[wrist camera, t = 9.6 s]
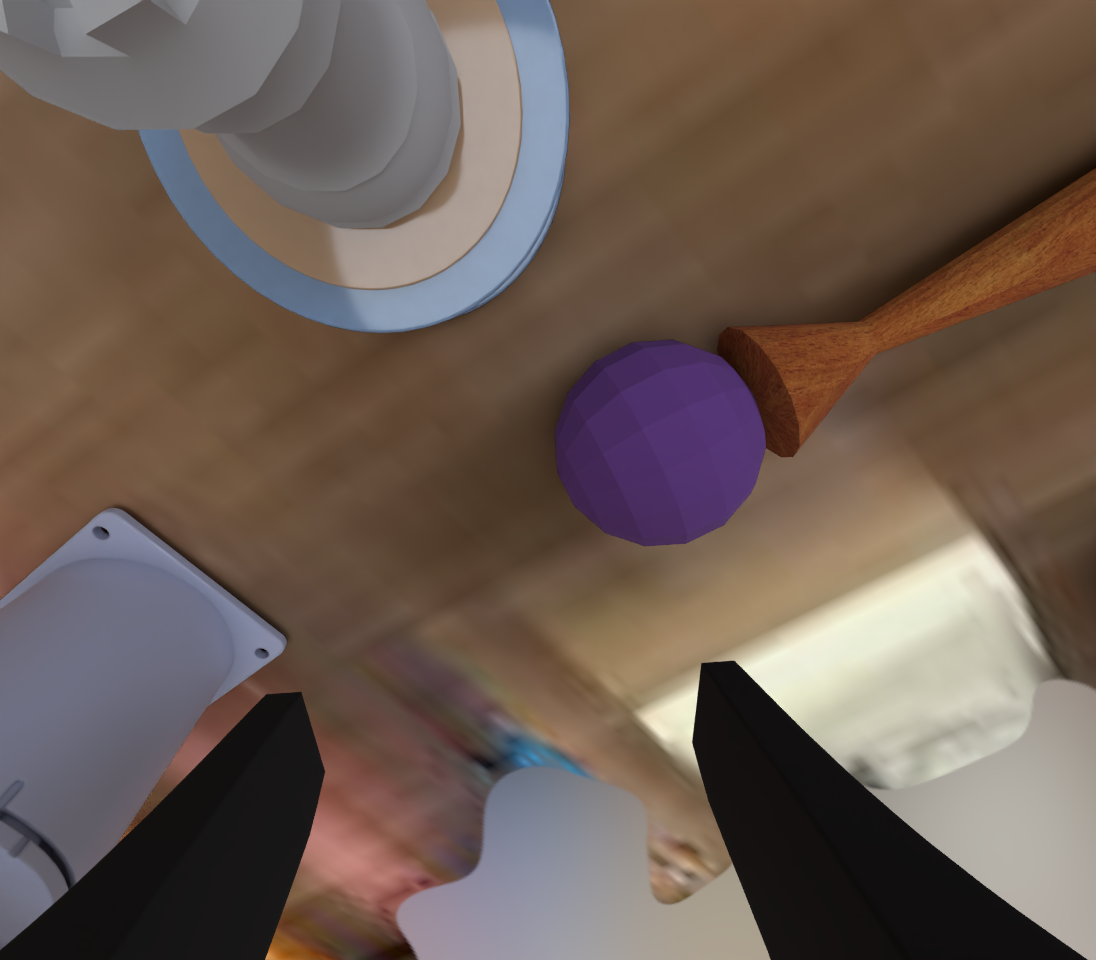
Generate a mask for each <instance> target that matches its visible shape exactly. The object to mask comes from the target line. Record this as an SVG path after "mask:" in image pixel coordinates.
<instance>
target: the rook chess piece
mask: <svg viewBox="0 0 1096 960" xmlns="http://www.w3.org/2000/svg"><path fill="white" fill-rule="evenodd" d="M0 70H1V71H2V72H3V73H5V74H6V75H7V76H8V77H10V78H11V79H12V80H13V81H14V82H16V83H17V84H18V85H19V86H21V87H22V88H23V89H24V90H25V91H27V92H28V93H29V94H30V95H31V96H33V97H36V98H38V99H41V100H43V101H46V102H48V103H51V104H53V105H56V106H58V107H61V108H63V109H66V110H68V111H70V112H73V113H75V114H78V115H80V116H83V117H85V118H88V119H90V120H93V121H95V122H98V123H100V124H103V125H105V126H108V127H110V128H113V129H115V130H160V129H196V130H198V131H201V132H203V133H206V134H209V133H215V134H216V136H217V137H218V139H219V141H220V142H221V144H222V146H223V147H224V149H225V151H226V152H227V154H228V156H229V157H230V159H231V161H232V162H233V163H234V164H235V165H236V166H237V167H238V168H239V169H240V170H241V171H242V172H243V173H244V174H245V175H247V176H248V177H249V178H250V179H251V180H252V181H253V182H254V183H256V184H257V185H258V186H259V187H260V188H261V189H262V190H264V191H265V192H266V193H267V194H268V195H269V196H270V197H271V198H273V199H274V200H275V201H276V202H277V203H278V204H280V205H282V206H285V207H287V208H290V209H292V210H295V211H297V212H300V213H302V214H305V215H307V216H310V217H312V218H315V219H317V220H320V221H322V222H325V223H327V224H330V225H332V226H335V227H337V228H378V227H384V226H386V225H388V224H390V223H392V222H394V221H396V220H398V219H400V218H402V217H404V216H406V215H408V214H410V213H412V212H414V211H416V210H418V209H420V208H421V206H422V205H423V204H424V203H425V201H426V200H427V199H428V197H429V196H430V195H431V194H432V192H433V191H434V190H435V188H436V187H437V186H438V185H439V183H440V182H441V181H442V180H443V178H444V177H445V176H446V174H447V173H448V169H449V166H450V162H451V159H452V155H453V151H454V148H455V144H456V140H457V137H458V133H459V130H460V126H461V121H460V107H459V94H458V80H457V69H456V66H455V64H454V62H453V59H452V57H451V54H450V52H449V49H448V47H447V45H446V42H445V40H444V37H443V35H442V33H441V30H440V28H439V25H438V23H437V20H436V18H435V16H434V14H433V13H432V11H431V10H430V9H429V8H428V5H427V3H426V0H0Z"/></svg>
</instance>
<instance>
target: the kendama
mask: <svg viewBox="0 0 1096 960" xmlns="http://www.w3.org/2000/svg"><path fill="white" fill-rule="evenodd" d="M1095 271H1096V168H1095V169H1093V170H1092V171H1090V172H1089V173H1087V174H1085V175H1084V176H1082V177H1081V178H1079V179H1078V180H1076V181H1075V182H1073V183H1071V184H1070V185H1068V186H1067V187H1065V188H1064V189H1062V190H1061V191H1059V192H1058V193H1056V194H1054V195H1053V196H1051V197H1050V198H1048V199H1047V200H1045V201H1044V202H1042V203H1040V204H1039V205H1037V206H1036V207H1034V208H1033V209H1031V210H1030V211H1028V212H1027V213H1025V214H1023V215H1022V216H1020V217H1019V218H1017V219H1016V220H1014V221H1013V222H1011V223H1010V224H1008V225H1006V226H1005V227H1003V228H1002V229H1000V230H999V231H997V232H996V233H994V234H992V235H991V236H989V237H988V238H986V239H985V240H983V241H982V242H980V243H979V244H977V245H975V246H974V247H972V248H971V249H969V250H968V251H966V252H965V253H963V254H961V255H960V256H958V257H957V258H955V259H954V260H952V261H951V262H949V263H948V264H946V265H944V266H943V267H941V268H940V269H938V270H937V271H935V272H934V273H932V274H931V275H929V276H927V277H926V278H924V279H923V280H921V281H920V282H918V283H917V284H915V285H913V286H912V287H910V288H909V289H907V290H906V291H904V292H903V293H901V294H900V295H898V296H896V297H895V298H893V299H892V300H890V301H889V302H887V303H886V304H884V305H882V306H881V307H879V308H878V309H876V310H875V311H873V312H872V313H870V314H869V315H867V316H865V317H864V318H862V319H861V320H859V321H858V322H840V323H817V324H794V325H770V326H747V327H728V328H726V329H725V330H724V331H723V332H722V333H721V334H720V335H719V341H718V348H717V351H718V355H715V354H713V353H710V352H707V351H704V350H701V349H698V348H696V347H693V346H690V345H687V344H684V343H681V342H678V341H675V340H660V341H647V342H634V343H630V344H628V345H626V346H624V347H622V348H620V349H618V350H616V351H615V352H613V353H611V354H609V355H607V356H605V357H603V358H601V359H599V360H597V361H595V362H594V363H593V364H592V365H591V366H590V368H589V369H588V370H587V371H586V372H585V374H584V375H583V376H582V377H581V378H580V379H579V381H578V382H577V383H576V384H575V385H574V386H573V388H572V389H571V390H570V391H569V392H568V393H567V396H566V399H565V402H564V405H563V408H562V411H561V414H560V418H559V421H558V424H557V427H556V430H555V445H556V459H557V472H558V474H559V477H560V479H561V481H562V483H563V485H564V487H565V489H566V491H567V493H568V495H569V497H570V499H571V501H572V502H573V504H574V506H575V507H576V508H577V509H578V510H579V511H580V512H582V513H583V514H584V515H585V516H586V517H587V518H589V519H590V520H591V521H592V522H593V523H594V524H596V525H597V526H598V527H599V528H600V529H601V530H602V531H604V532H605V533H607V534H610V535H613V536H616V537H619V538H622V539H625V540H628V541H631V542H634V543H637V544H639V545H642V546H655V545H671V544H686V543H688V542H690V541H692V540H694V539H696V538H698V537H700V536H702V535H704V534H707V533H709V532H711V531H713V530H715V529H717V528H719V527H721V526H723V525H724V524H725V523H726V522H727V521H728V519H729V518H730V517H731V516H732V515H733V514H734V512H735V511H736V510H737V509H738V508H739V507H740V505H741V504H742V503H743V502H744V501H745V500H746V498H747V497H748V496H749V495H750V494H751V492H752V490H753V488H754V486H755V484H756V480H757V477H758V473H759V470H760V466H761V463H762V459H763V455H764V452H765V448H767V449H768V450H770V451H772V452H773V453H775V454H777V455H778V456H780V457H793V456H794V455H795V454H796V452H797V451H798V450H799V449H800V447H801V446H802V445H803V444H804V442H805V441H806V440H807V439H808V437H809V436H810V435H811V434H812V432H813V431H814V430H815V429H816V427H817V426H818V425H819V424H820V422H821V421H822V420H823V419H824V417H825V416H826V415H827V414H828V412H829V411H830V410H831V409H832V407H833V406H834V405H835V404H836V402H837V401H838V400H839V399H840V397H841V396H842V395H843V394H844V392H845V391H846V390H847V389H848V387H849V386H850V385H851V384H852V382H853V381H854V380H855V379H856V378H857V376H858V375H859V374H860V373H861V371H862V370H863V369H864V368H865V366H866V365H867V364H868V363H869V361H870V360H871V359H872V358H873V356H874V355H875V354H878V353H881V352H883V351H886V350H889V349H891V348H894V347H897V346H899V345H902V344H904V343H907V342H910V341H912V340H915V339H918V338H920V337H923V336H926V335H928V334H931V333H934V332H936V331H939V330H942V329H944V328H947V327H950V326H952V325H955V324H957V323H960V322H963V321H965V320H968V319H971V318H973V317H976V316H979V315H981V314H984V313H987V312H989V311H992V310H995V309H997V308H1000V307H1003V306H1005V305H1008V304H1010V303H1013V302H1016V301H1018V300H1021V299H1024V298H1026V297H1029V296H1032V295H1034V294H1037V293H1040V292H1042V291H1045V290H1048V289H1050V288H1053V287H1056V286H1058V285H1061V284H1063V283H1066V282H1069V281H1071V280H1074V279H1077V278H1079V277H1082V276H1085V275H1087V274H1090V273H1093V272H1095Z"/></svg>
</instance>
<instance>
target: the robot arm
mask: <svg viewBox="0 0 1096 960" xmlns="http://www.w3.org/2000/svg"><path fill="white" fill-rule="evenodd" d="M101 527H103V528H105V529H106V530H107V531H108V532H109V534H107V533H105V532H104V531H103V530H102V529H101ZM286 645H287V640H286V638H285V637H284V636H283V635H282V634H281V633H280V632H279V631H277V630H276V629H275V628H274V627H272V626H271V625H270V624H268V623H267V622H266V621H265V620H263V619H262V618H261V617H259V616H258V615H257V614H256V613H254V612H253V611H252V610H250V609H249V608H248V607H247V606H245V605H244V604H243V603H241V602H240V601H239V600H238V599H236V598H235V597H234V596H232V595H231V594H230V593H229V592H227V591H226V590H225V589H224V588H222V587H221V586H220V585H218V584H217V583H216V582H215V581H213V580H212V579H211V578H209V577H208V576H207V575H206V574H204V573H203V572H202V571H200V570H199V569H198V568H197V567H195V566H194V565H193V564H191V563H190V562H189V561H188V560H186V559H185V558H184V557H183V556H181V555H180V554H179V553H177V552H176V551H175V550H174V549H172V548H171V547H170V546H168V545H167V544H166V543H165V542H163V541H162V540H161V539H159V538H158V537H157V536H156V535H154V534H153V533H152V532H150V531H149V530H148V529H147V528H145V527H144V526H143V525H142V524H140V523H139V522H138V521H136V520H135V519H134V518H133V517H131V516H130V515H129V514H127V513H126V512H124V511H123V510H121V509H117V508H108V509H106V510H104V511H103V512H101V513H99V514H98V515H97V516H96V517H94V518H93V519H92V520H91V521H90V522H89V523H88V524H87V525H85V526H84V527H83V528H82V529H81V530H80V531H79V532H77V533H76V534H75V535H74V536H73V537H72V538H71V539H69V540H68V541H67V542H66V543H65V544H64V545H63V546H61V547H60V548H59V549H58V550H57V551H56V552H55V553H53V554H52V555H51V556H50V557H49V558H48V559H47V560H45V561H44V562H43V563H42V564H41V565H40V566H39V567H37V568H36V569H35V570H34V571H33V572H32V573H31V574H30V575H28V576H27V577H26V578H25V579H24V580H23V581H22V582H20V583H19V584H18V585H17V586H16V587H15V588H14V589H12V590H11V591H10V592H9V593H8V594H7V595H6V596H4V597H3V598H2V599H1V600H0V960H265V958H266V956H267V953H268V950H269V947H270V944H271V942H272V939H273V936H274V933H275V931H276V928H277V925H278V922H279V920H280V917H281V914H282V911H283V909H284V906H285V903H286V900H287V898H288V895H289V892H290V889H291V887H292V884H293V881H294V878H295V875H296V873H297V870H298V867H299V864H300V861H301V858H302V856H303V853H304V850H305V847H306V844H307V841H308V838H309V836H310V832H311V828H312V824H313V820H314V816H315V812H316V808H317V804H318V800H319V795H320V791H321V787H322V782H323V778H324V774H325V770H324V766H323V763H322V760H321V756H320V753H319V750H318V746H317V743H316V740H315V736H314V733H313V730H312V726H311V723H310V720H309V716H308V713H307V709H306V706H305V703H304V699H303V696H302V693H301V692H294V693H280V694H266V695H265V696H264V697H263V698H262V699H261V700H260V701H259V702H258V703H257V704H256V705H255V706H254V707H253V708H252V709H251V710H250V711H249V712H248V713H247V715H246V716H245V717H244V718H243V719H242V720H241V721H240V722H239V723H238V724H237V725H236V726H235V727H234V728H233V729H232V730H231V731H230V732H229V733H228V734H227V735H226V736H225V737H224V738H223V739H222V740H221V741H220V742H219V743H218V744H217V746H216V747H215V748H214V749H213V750H212V751H211V752H210V753H209V754H208V755H207V756H206V757H205V758H204V759H203V760H202V761H201V762H200V763H199V764H198V765H197V766H196V767H195V768H194V769H193V770H192V771H191V772H190V773H189V774H188V775H187V776H186V777H185V778H184V779H183V780H182V781H181V782H180V783H179V784H178V785H177V786H176V787H175V788H174V789H173V790H172V791H171V792H170V793H169V794H168V795H167V796H166V797H165V798H164V799H163V800H162V801H161V802H160V803H159V804H158V806H157V807H156V808H155V809H154V810H153V811H152V812H151V813H150V814H149V815H148V816H147V817H146V818H144V819H143V820H142V821H141V822H140V823H139V824H138V825H137V826H136V827H135V828H134V829H133V830H132V831H131V832H130V833H129V834H128V835H127V836H126V837H124V838H123V839H122V840H121V841H120V842H119V840H120V839H121V837H122V836H123V834H124V833H125V831H126V830H127V828H128V826H129V825H130V823H131V822H132V820H133V819H134V817H135V816H136V814H137V813H138V811H139V810H140V808H141V807H142V805H143V804H144V802H145V801H146V799H147V798H148V796H149V794H150V793H151V791H152V790H153V788H154V787H155V785H156V784H157V782H158V781H159V779H160V778H161V776H162V775H163V773H164V772H165V770H166V769H167V767H168V766H169V764H170V762H171V761H172V759H173V758H174V756H175V755H176V753H177V752H178V750H179V749H180V747H181V746H182V744H183V743H184V741H185V740H186V738H187V737H188V735H189V734H190V732H191V731H192V729H193V727H194V726H195V724H196V723H197V721H198V720H199V718H200V717H201V715H202V714H203V712H204V711H205V709H206V708H207V707H208V706H209V705H210V704H212V703H213V702H215V701H216V700H217V699H219V698H220V697H222V696H223V695H224V694H226V693H227V692H229V691H230V690H231V689H233V688H234V687H235V686H237V685H238V684H240V683H241V682H242V681H244V680H245V679H247V678H248V677H249V676H251V675H252V674H254V673H255V672H256V671H258V670H259V669H261V668H262V667H263V666H265V665H266V664H267V663H269V662H270V661H272V660H273V659H274V658H276V657H277V656H279V655H280V654H281V653H282V652H283V651H284V649H285V647H286ZM260 648H261V649H265V650H267V652H264V651H262V650H261V649H260ZM692 743H693V747H694V751H695V754H696V758H697V762H698V766H699V769H700V773H701V776H702V780H703V783H704V787H705V790H706V794H707V797H708V801H709V803H710V806H711V809H712V811H713V814H714V817H715V819H716V822H717V824H718V827H719V829H720V832H721V834H722V837H723V840H724V842H725V845H726V847H727V850H728V852H729V855H730V857H731V860H732V862H733V865H734V867H735V870H736V872H737V875H738V877H739V880H740V882H741V885H742V887H743V890H744V893H745V895H746V898H747V900H748V903H749V905H750V908H751V910H752V913H753V915H754V918H755V920H756V923H757V925H758V928H759V930H760V933H761V935H762V938H763V940H764V943H765V945H766V948H767V950H768V953H769V956H770V959H771V960H1087V959H1086V958H1084V957H1083V956H1082V955H1080V954H1078V953H1077V952H1076V951H1074V950H1073V949H1072V948H1070V947H1069V946H1067V945H1066V944H1064V943H1063V942H1061V941H1060V940H1059V939H1057V938H1056V937H1055V936H1053V935H1052V934H1050V933H1049V932H1047V931H1046V930H1045V929H1043V928H1042V927H1040V926H1039V925H1037V924H1036V923H1035V922H1033V921H1032V920H1030V919H1029V918H1028V917H1026V916H1025V915H1023V914H1022V913H1021V912H1019V911H1018V910H1016V909H1015V908H1014V907H1012V906H1011V905H1009V904H1008V903H1007V902H1006V901H1004V900H1003V899H1002V898H1000V897H999V896H998V895H996V894H995V893H994V892H992V891H991V890H990V889H988V888H986V886H984V885H983V884H982V883H980V882H979V881H978V880H976V879H975V878H974V877H973V876H971V875H970V874H969V873H967V872H966V871H965V870H964V869H962V868H961V867H960V866H959V865H957V864H956V863H955V862H954V861H952V860H951V859H950V858H948V857H947V856H946V855H945V854H943V853H942V852H941V851H939V850H938V849H937V848H935V847H934V846H933V845H932V844H931V843H929V842H928V841H927V840H926V839H924V838H923V837H922V836H921V835H920V834H918V833H917V832H916V831H915V830H914V829H912V828H911V827H910V826H909V825H908V824H906V823H905V822H904V821H903V820H902V819H901V818H899V817H898V816H897V815H896V814H895V813H893V812H892V811H891V810H890V809H889V808H888V807H887V806H886V805H884V804H883V803H882V802H881V801H880V800H879V799H877V798H876V797H875V796H874V795H873V794H872V793H871V792H869V791H868V790H867V789H866V788H865V787H864V786H863V785H862V784H861V783H859V782H858V781H857V780H856V779H855V778H854V777H853V776H852V775H851V774H850V773H848V772H847V771H846V770H845V769H844V768H843V767H842V766H841V765H840V764H839V763H838V762H837V761H836V760H835V759H834V758H832V757H831V756H830V755H829V754H828V753H827V752H826V751H825V750H824V749H823V748H822V747H821V746H820V745H819V744H818V743H817V742H815V741H814V740H813V739H812V738H811V737H810V736H809V735H808V734H807V733H806V732H805V731H804V730H803V729H802V728H801V727H800V726H799V725H798V724H797V723H796V722H795V721H794V720H793V719H792V718H791V717H790V716H789V715H788V714H787V713H786V712H785V711H784V710H783V709H782V708H781V707H780V706H779V705H778V704H777V703H776V702H775V701H774V700H773V699H772V698H771V697H770V696H769V695H768V694H767V693H766V692H765V691H764V690H763V689H762V688H761V687H760V686H759V685H758V684H757V683H756V682H755V681H754V680H753V679H752V678H751V677H750V676H749V675H748V674H747V673H746V672H745V671H744V670H743V669H742V668H741V667H740V666H739V665H738V664H737V663H736V662H735V661H723V662H709V663H701V672H700V680H699V689H698V697H697V706H696V715H695V723H694V732H693V740H692ZM118 842H119V843H118ZM117 843H118V844H117Z"/></svg>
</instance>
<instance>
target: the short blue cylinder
mask: <svg viewBox="0 0 1096 960" xmlns="http://www.w3.org/2000/svg"><path fill="white" fill-rule="evenodd" d="M426 3H427V5H428V8H429V9H430V10H431V11H432V13H433V14H434V16H435V18H436V20H437V23H438V25H439V28H440V30H441V33H442V35H443V37H444V40H445V42H446V45H447V47H448V49H449V52H450V54H451V57H452V59H453V62H454V64H455V66H456V69H457V80H458V94H459V107H460V121H461V126H460V130H459V133H458V137H457V140H456V144H455V148H454V151H453V155H452V159H451V162H450V166H449V169H448V173H447V174H446V176H445V177H444V178H443V180H442V181H441V182H440V183H439V185H438V186H437V187H436V188H435V190H434V191H433V192H432V194H431V195H430V196H429V197H428V199H427V200H426V201H425V203H424V204H423V205H422V206H421V208H420V209H418V210H416V211H414V212H412V213H410V214H408V215H406V216H404V217H402V218H400V219H398V220H396V221H394V222H392V223H390V224H388V225H386V226H384V227H378V228H337V227H335V226H332V225H330V224H327V223H325V222H322V221H320V220H317V219H315V218H312V217H310V216H307V215H305V214H302V213H300V212H297V211H295V210H292V209H290V208H287V207H285V206H282V205H280V204H278V203H277V202H276V201H275V200H274V199H273V198H271V197H270V196H269V195H268V194H267V193H266V192H265V191H264V190H262V189H261V188H260V187H259V186H258V185H257V184H256V183H254V182H253V181H252V180H251V179H250V178H249V177H248V176H247V175H245V174H244V173H243V172H242V171H241V170H240V169H239V168H238V167H237V166H236V165H235V164H234V163H233V162H232V161H231V159H230V157H229V156H228V154H227V152H226V151H225V149H224V147H223V146H222V144H221V142H220V141H219V139H218V137H217V136H216V134H215V133H209V134H206V133H203V132H201V131H198V130H196V129H160V130H138V131H139V134H140V138H141V140H142V143H143V145H144V147H145V150H146V152H147V154H148V157H149V159H150V161H151V164H152V166H153V168H154V170H155V172H156V174H157V176H158V178H159V180H160V181H161V183H162V185H163V187H164V189H165V190H166V192H167V194H168V196H169V198H170V199H171V201H172V203H173V204H174V205H175V207H176V208H177V210H178V211H179V213H180V214H181V215H182V217H183V218H184V220H185V221H186V223H187V224H188V226H189V227H190V228H191V229H192V231H193V232H194V233H195V234H196V235H197V236H198V238H199V239H200V240H201V241H202V242H203V243H204V245H205V246H206V247H207V248H208V249H209V250H210V252H211V253H212V254H213V255H214V256H215V257H216V258H218V259H219V260H220V261H221V262H222V263H223V264H224V265H225V266H226V267H227V268H228V269H229V270H230V271H231V272H232V273H233V274H234V275H236V276H237V277H238V278H240V279H241V280H242V281H244V282H245V283H246V284H247V285H249V286H250V287H251V288H253V289H254V290H255V291H257V292H258V293H260V294H261V295H263V296H265V297H266V298H268V299H270V300H271V301H273V302H274V303H276V304H278V305H279V306H281V307H283V308H285V309H287V310H289V311H292V312H294V313H296V314H298V315H300V316H302V317H304V318H307V319H310V320H313V321H316V322H319V323H322V324H325V325H328V326H331V327H336V328H341V329H346V330H351V331H356V332H369V333H394V332H407V331H412V330H417V329H422V328H427V327H431V326H433V325H436V324H439V323H442V322H445V321H448V320H451V319H453V318H455V317H458V316H461V315H464V314H467V313H469V312H471V311H473V310H475V309H477V308H479V307H481V306H483V305H485V304H486V303H488V302H489V301H491V300H492V299H493V298H495V297H496V296H498V295H499V294H500V293H502V292H503V291H504V290H505V289H506V288H507V287H508V286H510V285H511V284H512V283H513V282H514V281H515V280H516V279H517V278H518V277H519V276H520V274H521V273H522V272H523V271H524V270H525V268H526V267H527V266H528V265H529V263H530V262H531V261H532V259H533V258H534V256H535V254H536V253H537V251H538V250H539V248H540V246H541V245H542V243H543V241H544V239H545V237H546V235H547V232H548V230H549V228H550V226H551V224H552V221H553V218H554V215H555V212H556V209H557V206H558V203H559V199H560V194H561V189H562V184H563V179H564V171H565V160H566V155H567V148H568V136H569V123H570V110H569V84H568V77H567V70H566V62H565V55H564V50H563V46H562V42H561V38H560V34H559V30H558V25H557V21H556V17H555V15H554V12H553V9H552V6H551V4H550V1H549V0H426Z"/></svg>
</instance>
